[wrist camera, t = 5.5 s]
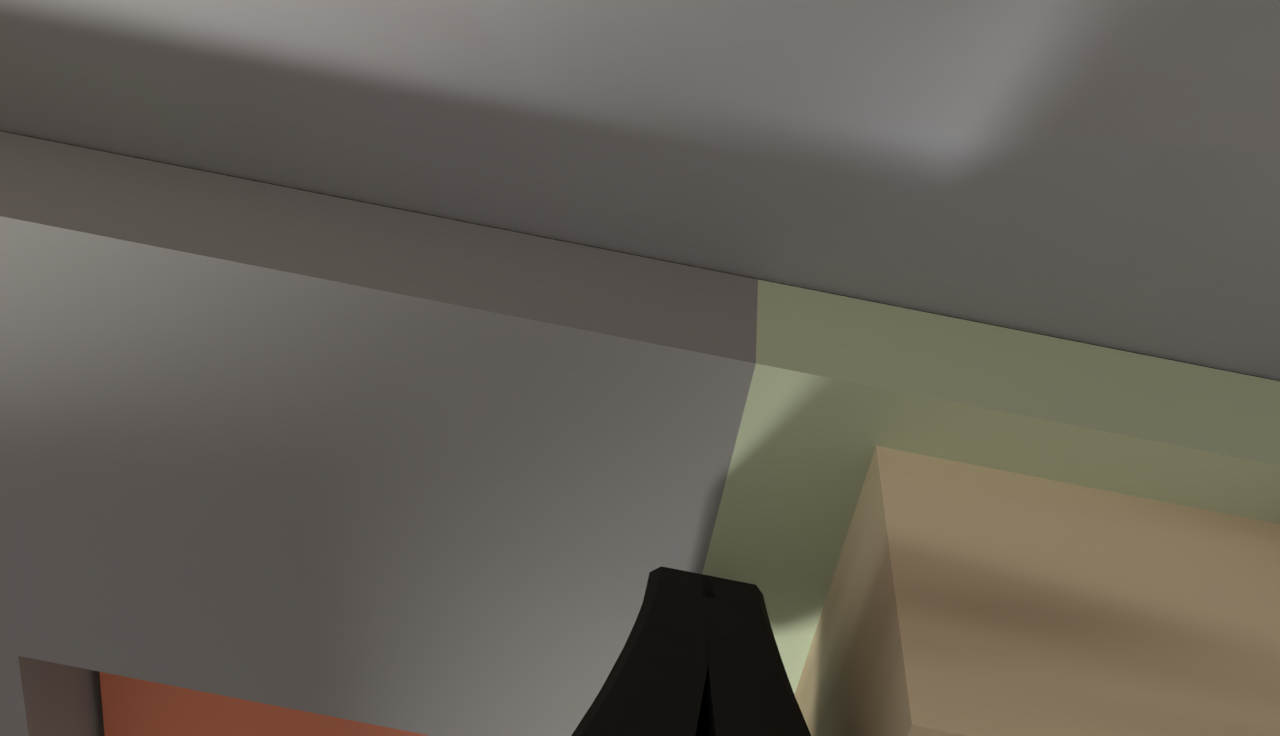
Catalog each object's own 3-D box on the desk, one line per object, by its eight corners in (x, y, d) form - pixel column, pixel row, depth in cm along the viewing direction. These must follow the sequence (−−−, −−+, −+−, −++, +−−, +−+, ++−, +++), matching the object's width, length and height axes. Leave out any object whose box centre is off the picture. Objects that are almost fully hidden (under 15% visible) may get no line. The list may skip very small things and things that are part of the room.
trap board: (1048, 967, 20) (1095, 1194, 17) (-38, 759, 20) (-178, 950, 17) (1374, 399, 15) (1529, 593, 12) (-152, 101, 15) (-393, 219, 12)
